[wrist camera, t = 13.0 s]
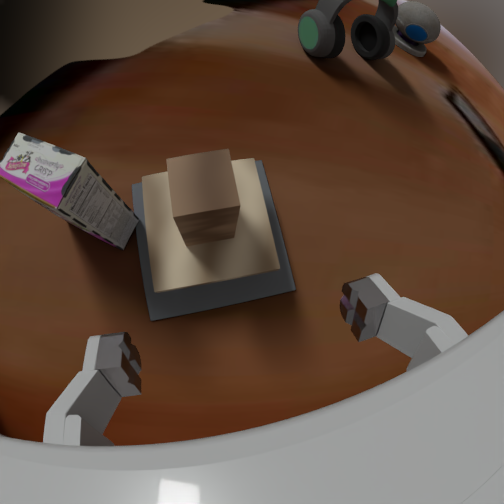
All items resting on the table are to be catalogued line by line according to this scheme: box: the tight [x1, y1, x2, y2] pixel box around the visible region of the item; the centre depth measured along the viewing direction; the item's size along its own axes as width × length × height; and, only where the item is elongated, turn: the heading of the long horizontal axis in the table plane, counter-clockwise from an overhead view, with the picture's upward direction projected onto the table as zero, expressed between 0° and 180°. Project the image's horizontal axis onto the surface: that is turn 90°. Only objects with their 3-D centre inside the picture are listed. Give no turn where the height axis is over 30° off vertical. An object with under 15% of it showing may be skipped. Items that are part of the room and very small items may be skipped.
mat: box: [132, 160, 296, 321], centre depth 35 cm, size 18×18×1 cm
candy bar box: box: [0, 133, 139, 250], centre depth 26 cm, size 11×5×16 cm, turn 67°
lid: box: [142, 149, 280, 293], centre depth 26 cm, size 13×13×10 cm
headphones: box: [298, 0, 398, 60], centre depth 38 cm, size 19×11×20 cm, turn 109°
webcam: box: [392, 1, 440, 57], centre depth 46 cm, size 13×13×15 cm
